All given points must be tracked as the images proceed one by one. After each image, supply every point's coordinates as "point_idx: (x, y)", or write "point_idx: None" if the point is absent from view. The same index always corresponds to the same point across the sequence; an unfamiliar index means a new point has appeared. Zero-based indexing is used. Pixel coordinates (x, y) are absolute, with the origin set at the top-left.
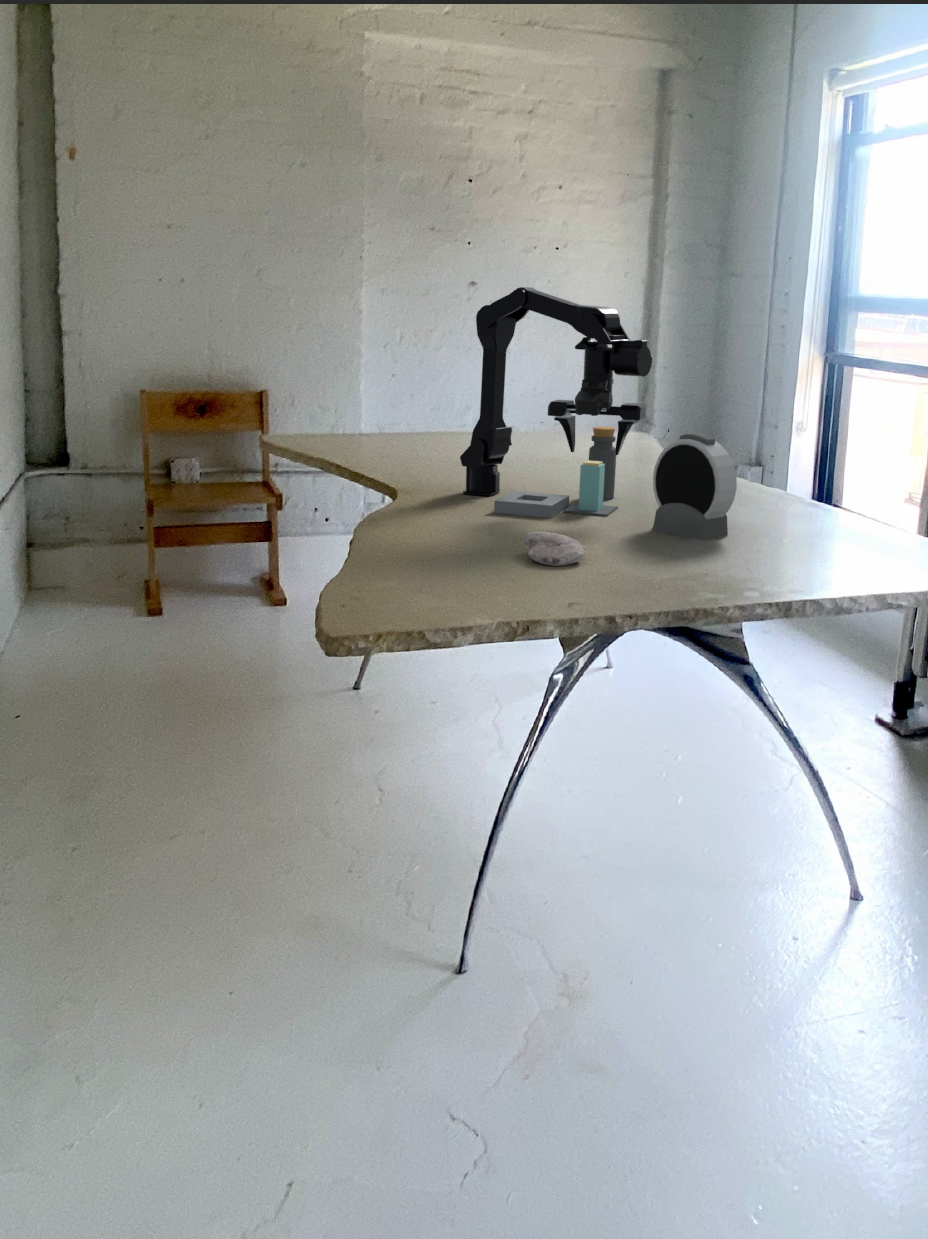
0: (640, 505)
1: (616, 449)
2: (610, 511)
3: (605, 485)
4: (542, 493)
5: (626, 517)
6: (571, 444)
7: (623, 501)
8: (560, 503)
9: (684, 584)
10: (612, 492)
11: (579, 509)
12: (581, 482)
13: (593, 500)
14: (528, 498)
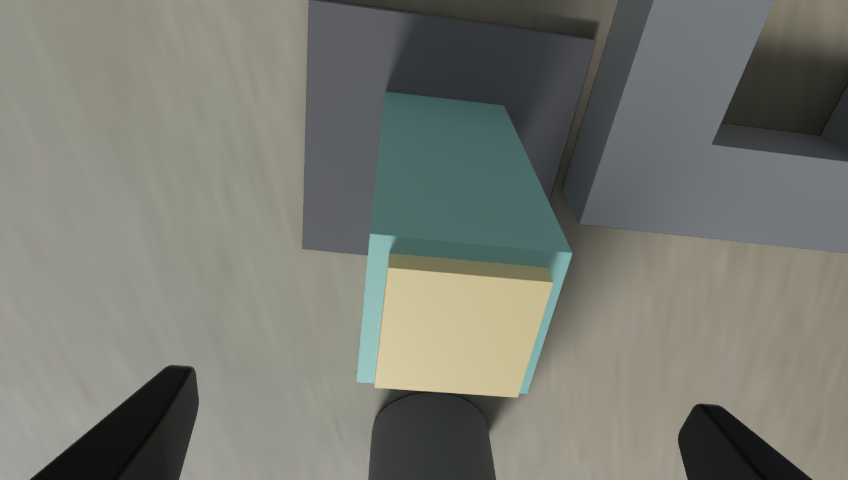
0: (220, 339)
1: (153, 409)
2: (309, 104)
3: (403, 451)
4: (741, 233)
5: (188, 13)
6: (768, 467)
7: (317, 391)
8: (634, 30)
9: None
10: (373, 441)
11: (498, 104)
12: (523, 175)
13: (415, 116)
14: (827, 152)
